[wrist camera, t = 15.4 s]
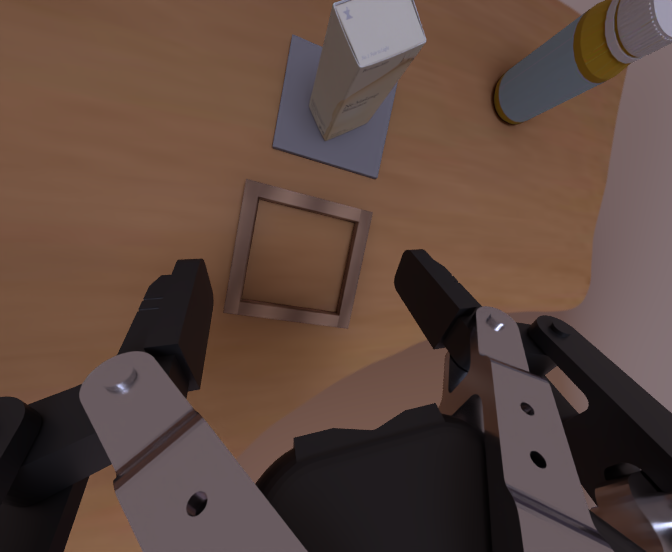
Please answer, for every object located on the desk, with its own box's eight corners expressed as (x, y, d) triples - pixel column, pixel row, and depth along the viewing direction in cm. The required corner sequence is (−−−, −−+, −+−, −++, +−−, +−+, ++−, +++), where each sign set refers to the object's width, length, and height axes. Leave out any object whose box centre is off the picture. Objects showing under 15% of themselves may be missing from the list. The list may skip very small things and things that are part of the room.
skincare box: (324, 142, 29) (357, 72, 17) (307, 104, 28) (329, 2, 16) (369, 122, 30) (429, 43, 18) (354, 84, 29) (407, -26, 17)
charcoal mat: (272, 148, 28) (272, 146, 28) (292, 38, 27) (292, 34, 27) (375, 179, 31) (377, 178, 31) (395, 82, 31) (398, 79, 30)
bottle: (491, 70, 33) (655, -63, 19) (531, 75, 35) (711, -45, 21) (490, 125, 34) (644, 38, 20) (529, 127, 36) (699, 48, 22)
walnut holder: (226, 309, 29) (223, 312, 28) (247, 182, 28) (246, 178, 26) (344, 324, 33) (347, 328, 31) (368, 213, 32) (372, 212, 30)
